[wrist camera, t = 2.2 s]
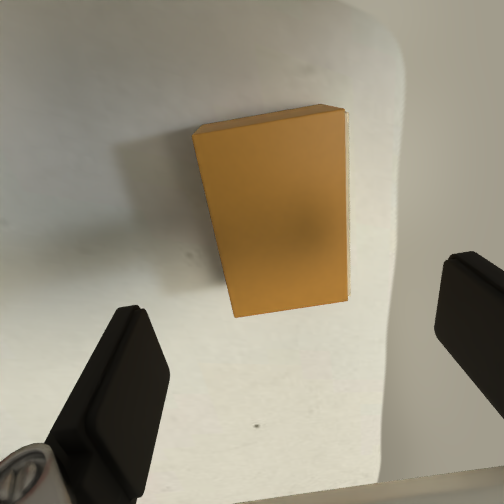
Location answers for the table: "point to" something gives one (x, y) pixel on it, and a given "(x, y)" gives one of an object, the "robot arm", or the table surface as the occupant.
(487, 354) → the robot arm
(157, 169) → the table surface
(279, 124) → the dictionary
